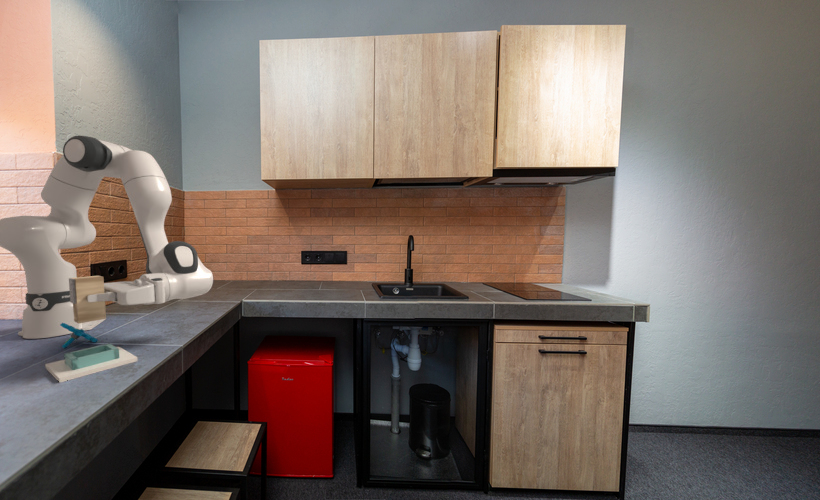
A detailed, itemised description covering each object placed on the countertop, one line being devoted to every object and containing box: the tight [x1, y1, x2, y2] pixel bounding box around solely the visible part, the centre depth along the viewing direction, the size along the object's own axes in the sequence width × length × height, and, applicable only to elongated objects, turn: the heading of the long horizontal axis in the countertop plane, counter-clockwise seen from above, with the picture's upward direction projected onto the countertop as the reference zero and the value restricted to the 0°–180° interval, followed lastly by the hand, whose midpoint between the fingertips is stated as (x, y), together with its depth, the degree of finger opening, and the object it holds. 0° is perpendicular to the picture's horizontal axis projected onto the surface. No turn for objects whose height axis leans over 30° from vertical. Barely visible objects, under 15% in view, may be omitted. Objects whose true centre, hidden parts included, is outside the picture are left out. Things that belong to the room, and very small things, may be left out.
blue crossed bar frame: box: [60, 323, 99, 349], centre depth 93 cm, size 11×6×10 cm
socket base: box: [44, 342, 139, 384], centre depth 80 cm, size 14×14×4 cm
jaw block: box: [69, 275, 107, 324], centre depth 79 cm, size 4×6×11 cm
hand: (83, 297), depth 79 cm, fingers closed on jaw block, 4 cm apart
